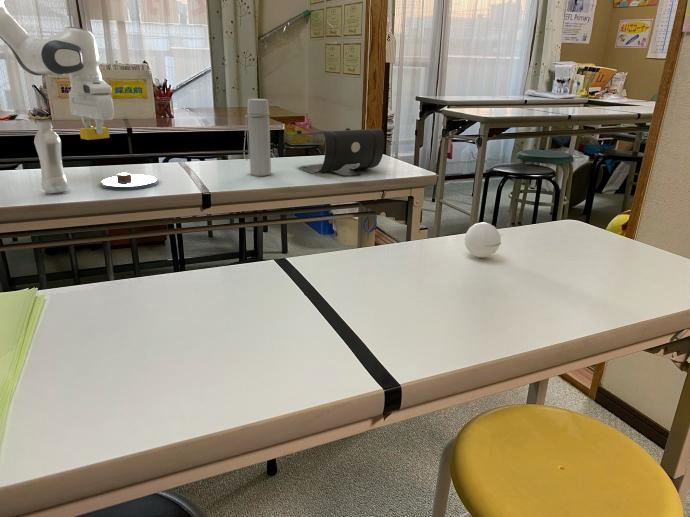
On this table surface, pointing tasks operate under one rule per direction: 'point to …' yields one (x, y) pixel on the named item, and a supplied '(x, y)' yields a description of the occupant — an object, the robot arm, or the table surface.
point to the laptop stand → (349, 151)
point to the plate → (129, 183)
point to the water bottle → (258, 137)
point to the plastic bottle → (50, 158)
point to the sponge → (93, 133)
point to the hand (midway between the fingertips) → (94, 132)
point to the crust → (123, 176)
